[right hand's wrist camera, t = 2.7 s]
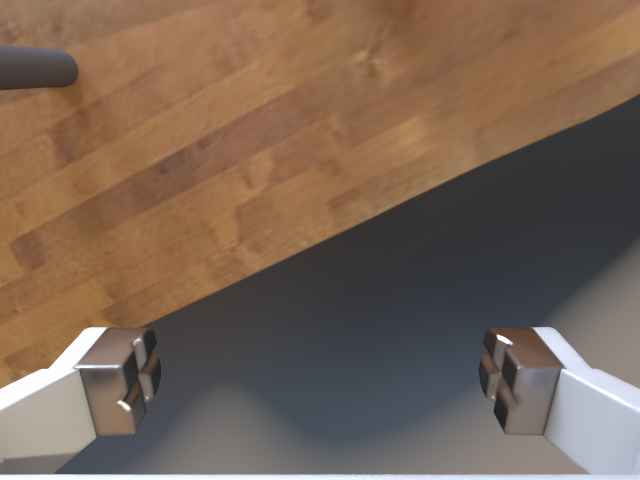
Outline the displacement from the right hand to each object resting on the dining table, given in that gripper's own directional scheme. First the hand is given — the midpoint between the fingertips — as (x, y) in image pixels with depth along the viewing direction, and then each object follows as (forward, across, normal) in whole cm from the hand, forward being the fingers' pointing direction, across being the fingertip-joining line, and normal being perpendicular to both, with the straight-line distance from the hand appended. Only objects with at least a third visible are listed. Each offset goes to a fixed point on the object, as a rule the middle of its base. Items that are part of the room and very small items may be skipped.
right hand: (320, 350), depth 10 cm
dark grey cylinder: (+48, +32, -7) cm, 58 cm away
